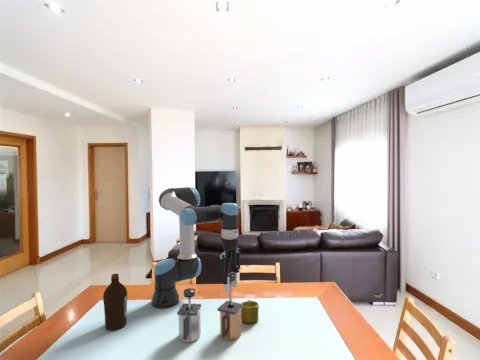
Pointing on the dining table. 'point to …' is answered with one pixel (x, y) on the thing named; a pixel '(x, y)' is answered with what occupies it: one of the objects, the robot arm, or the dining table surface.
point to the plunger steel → (189, 296)
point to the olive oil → (115, 304)
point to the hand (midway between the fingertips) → (230, 288)
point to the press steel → (189, 323)
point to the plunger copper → (231, 278)
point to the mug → (249, 311)
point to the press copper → (230, 320)
